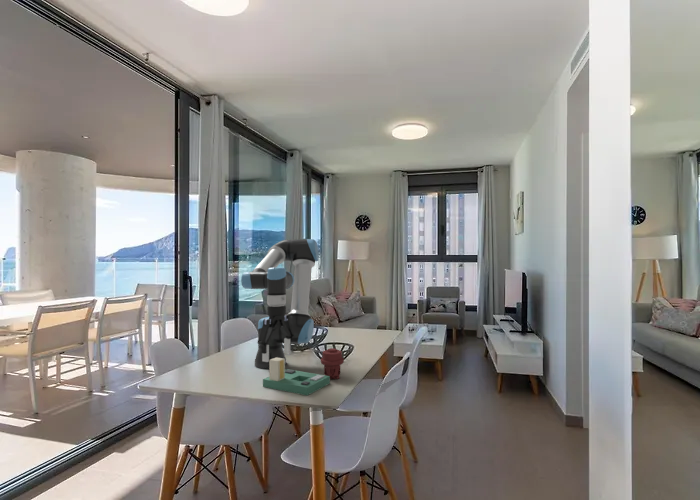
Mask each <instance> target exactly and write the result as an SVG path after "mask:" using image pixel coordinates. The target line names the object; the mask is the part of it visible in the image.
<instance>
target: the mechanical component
mask: <svg viewBox="0 0 700 500" xmlns="http://www.w3.org/2000/svg"><path fill="white" fill-rule="evenodd" d="M344 362H345V359H344V358H343V352H342V350H340V349H338V348H332V347H331V348H328V349H326V350H323V351H322V357H321V358H320V363H321V365H323V367H324V368H323V370H324V371H323V373H324V374H323V375H326V376H330V380H340V375H341V365H342V364H344Z"/></svg>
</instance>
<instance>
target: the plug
mask: <svg viewBox="0 0 700 500" xmlns="http://www.w3.org/2000/svg"><path fill="white" fill-rule="evenodd" d="M268 369H269V375H268V377H269V380H274V381H280V380H282V379H284V378H285V370H286V364H285V359H284V358H277V357H276V358H273V359H270V360H269V368H268Z"/></svg>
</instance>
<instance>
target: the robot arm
mask: <svg viewBox="0 0 700 500" xmlns="http://www.w3.org/2000/svg"><path fill="white" fill-rule="evenodd" d="M319 252H320V251H319V247H318V243H317V240H315V239H313V238H312V239H311V238H298V239H297V238H293V239H291V238H289V239H284V240H280V241H278V242H277V243H274V245H271V247H270V248H269V249H268V251H267V254H266V255H265V256H264V258H263V259H262V260H261V261H260V262H259V263H258V264H257V265H256V266H255V268H254V269H253V270H252V271H244V272H243V273H242V275H241V277H240V283H241V286H242V288H243V289H247V290H249V289H250V290H267V293H266V294H267V297H266V299H267V302H266V304H267V305H268V306H267V310H266V311H267V313H266V314H267V316H266V317H262V318H260V319H259V320H258V323H257V326H258V327H257V342H256V343H257V347H258V348H257V352H256V355H255V359H254V367H256V368H258V369H269V360H270V359H273V358H276V357H277V358H284V359H285V365H286V364H287V358H286V355H289V356H290V355H291V346H292V345H291V344H298V345H301V344H308V343H309V342H310V341H311V340H312V337H313V334H314V330H315V329H314V327H315V325H314V324H315V321H314V319H312V316H311V315H310V313H309V307H310V306H309V305H310V304H309V303H310V292H311V291H310V290H311V280H312V279H311V278H312V270H313V269H312V268H313V267H314V266H315V265H316V262H318V261H319V259H320V253H319ZM284 262H292V265H293V267H294V274H293V273H292V272H290V271H287V270H286V267H278V266H279V265H280V264H283V263H284ZM291 287H292V294H291V295H292V296H291V304H290V305H291V306H290V312H288V313H287V305H286V304H287V290H288V289H290V288H291ZM283 348H284V349H283Z"/></svg>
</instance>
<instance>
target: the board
mask: <svg viewBox="0 0 700 500" xmlns="http://www.w3.org/2000/svg"><path fill="white" fill-rule="evenodd" d="M330 381H331V379H330V376H326V375H324V374H319V373H312V372H306V371H301V370H295V369H289V368H288V369H286V368H285V378H284V379H282V380H280V381H274V380H269V376H268V377H265V378H262V387H264V388H269V389H273V390H278V391H282V392H287V393H288V392H289V393H293V394H299V395H303V396H309V395H311V394H313V393H315V392H317V391H318V390H320V389H322V388H324V387H326V386H327V385H329V384H331V383H330Z"/></svg>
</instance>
